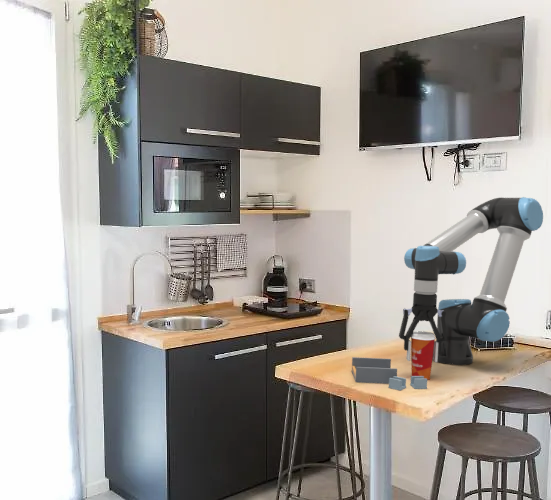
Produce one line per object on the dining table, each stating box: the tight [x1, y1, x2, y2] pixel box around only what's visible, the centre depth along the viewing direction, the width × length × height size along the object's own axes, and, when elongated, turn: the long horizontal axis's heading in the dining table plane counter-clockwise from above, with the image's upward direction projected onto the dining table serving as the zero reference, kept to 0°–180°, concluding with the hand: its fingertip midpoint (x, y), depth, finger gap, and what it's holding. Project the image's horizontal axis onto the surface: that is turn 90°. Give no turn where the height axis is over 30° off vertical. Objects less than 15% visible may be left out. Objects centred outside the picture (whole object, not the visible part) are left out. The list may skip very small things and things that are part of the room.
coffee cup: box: [410, 330, 436, 381], centre depth 200 cm, size 8×8×15 cm
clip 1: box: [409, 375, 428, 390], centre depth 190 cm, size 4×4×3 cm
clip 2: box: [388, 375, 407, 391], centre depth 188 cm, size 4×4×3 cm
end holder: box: [351, 356, 398, 385], centre depth 199 cm, size 13×14×5 cm
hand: (421, 360), depth 201 cm, fingers closed on coffee cup, 8 cm apart
